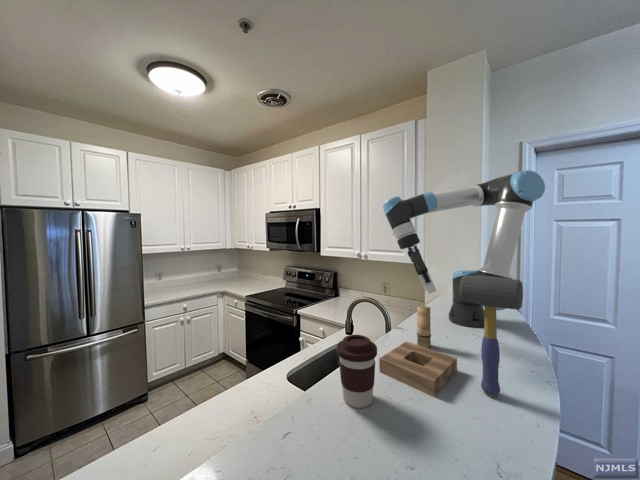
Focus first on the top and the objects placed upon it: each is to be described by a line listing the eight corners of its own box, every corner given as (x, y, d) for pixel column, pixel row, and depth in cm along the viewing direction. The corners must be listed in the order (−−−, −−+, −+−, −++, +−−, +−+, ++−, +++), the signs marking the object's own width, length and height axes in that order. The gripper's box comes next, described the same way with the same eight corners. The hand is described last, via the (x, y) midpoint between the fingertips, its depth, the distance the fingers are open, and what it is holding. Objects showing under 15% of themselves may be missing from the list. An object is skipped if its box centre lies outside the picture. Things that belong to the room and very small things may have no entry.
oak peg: (420, 342, 93) (420, 304, 92) (433, 346, 89) (433, 307, 89) (414, 346, 90) (414, 307, 89) (427, 350, 86) (427, 310, 86)
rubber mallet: (524, 398, 61) (524, 276, 60) (519, 414, 56) (520, 281, 55) (467, 377, 70) (466, 271, 69) (458, 390, 65) (457, 275, 64)
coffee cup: (364, 382, 69) (363, 329, 68) (386, 406, 60) (385, 344, 59) (331, 392, 65) (330, 335, 65) (349, 418, 56) (348, 352, 56)
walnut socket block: (406, 352, 85) (406, 341, 85) (457, 371, 73) (457, 358, 73) (379, 371, 74) (379, 358, 74) (434, 396, 62) (433, 381, 62)
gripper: (397, 243, 106) (417, 291, 101) (395, 235, 83) (422, 297, 78) (414, 236, 104) (436, 285, 100) (418, 226, 81) (446, 289, 76)
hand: (430, 290), depth 89 cm, fingers open, 13 cm apart
